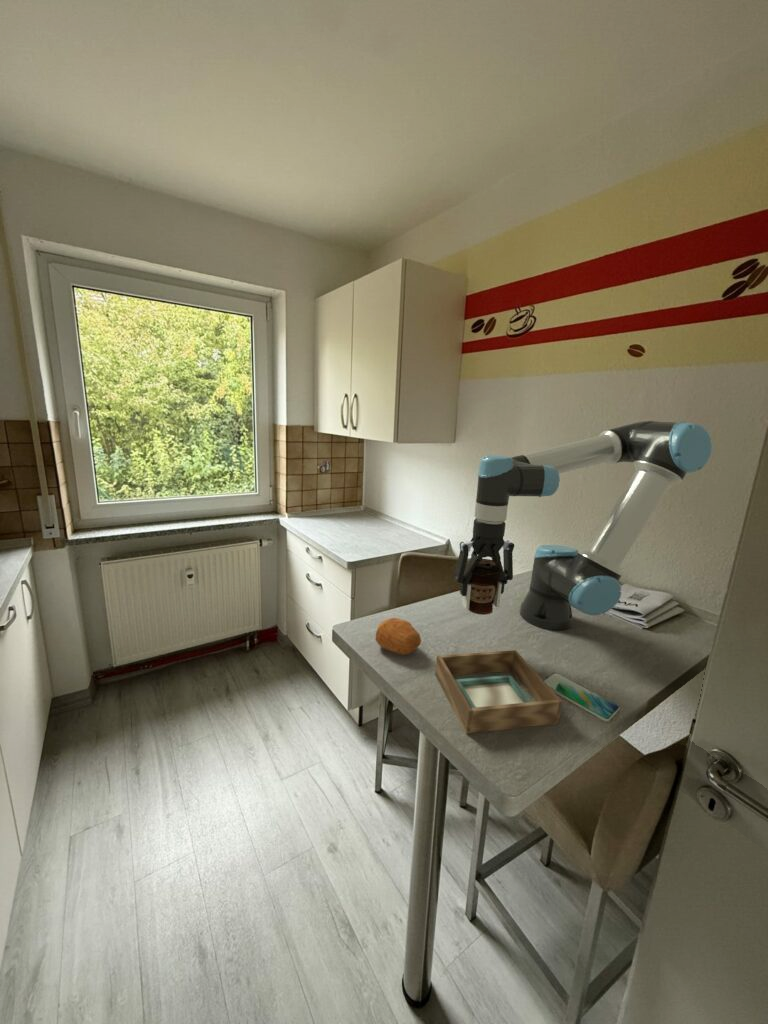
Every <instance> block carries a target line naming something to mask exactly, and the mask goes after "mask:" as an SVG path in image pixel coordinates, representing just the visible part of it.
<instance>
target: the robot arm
mask: <svg viewBox="0 0 768 1024" xmlns="http://www.w3.org/2000/svg"><path fill="white" fill-rule="evenodd" d="M711 438H712V437H711V435H710V433H709V432H708V430H707V429H706V428H705V427H704V426H703V425H701V424H697V423H692V422H687V421H686V422H685V421H679V422H678V421H677V422H676V421H674V422H673V421H654V420H647V421H646V420H644V421H638V422H634V423H630V424H625V425H621V426H619V427H614V428H611V429H607V430H604V431H602V432H600V434H599V435H596V436H593V437H590V438H585V439H581V440H577V441H573V442H569V443H565V444H561V445H557V446H552V447H549V448H545V449H540V450H537V451H536V450H535V451H533V452H529V453H524V454H520V455H516V456H511V457H510V456H505V455H490V454H489V455H484V456H482V457H481V458H480V463H479V468H478V473H477V478H478V479H477V490H476V499H475V508H474V509H475V510H474V518H475V519H473V527H472V537H471V540H470V541H469V542H464V541H460V542H459V555H458V558H457V563H456V566H455V567H456V568H455V570H454V575H453V578H454V580H455V581H456V582H457V583H459V584H460V587H459V593H460V595H461V596H462V599H461V601H462V602H461V606H463V608H464V610H468V609H469V603H470V593H471V584H469V581H470V579H471V577H472V571H473V570H474V567H476V566H475V565H478V564H479V562H480V561H481V560H482V559H485V558H491V560H492V561H493V562H494V563H495V564H499V568H501V574H500V576H499V579H498V585H497V591H496V594H495V596H494V602H493V606H494V607H495V608H499V607H500V603H501V595H502V594H504V592H505V585H507V584H508V581H512V580H513V579H514V569H513V568H514V567H513V564H514V563H513V560H514V559H513V551H514V549H515V544H514V542H512V541H510V540H504V537H505V533H506V531H505V530H506V524H507V523H506V522H505V521H506V520H507V517H508V507H509V506H508V505H509V499H510V497H538V498H542V497H551V496H553V495H554V494H555V493H556V492H557V491H558V489H559V486H560V474H563V473H567V472H572V471H575V470H578V469H583V468H586V467H591V466H595V465H600V464H603V463H606V464H608V465H614V464H617V463H632V464H633V467H634V470H635V472H634V473H633V474H632V476H631V478H630V479H629V481H628V482H627V485H626V486H625V487H624V489H623V491H622V492H621V494H620V496H619V497H618V498H617V500H616V502H615V504H614V505H613V507H612V509H611V510H610V511H609V513H608V515H607V517H606V518H605V520H604V521H603V524H602V525H601V527H600V528H599V529H598V531H597V533H596V534H595V536H594V538H593V539H592V541H591V542H590V544H589V546H588V547H587V549H585V550H581V551H579V550H578V549H576V548H573V547H569V546H566V545H557V544H543V545H540V546H538V547H537V548H536V549H535V554H534V556H533V558H534V560H533V565H532V571H531V578H530V583H529V588H528V591H527V593H526V595H525V598H524V599H523V601H522V602H521V603H520V607H519V615H520V617H521V618H522V619H524V620H525V621H526V622H528V623H529V624H531V625H534V626H536V627H539V628H542V629H547V630H551V631H562V630H567V629H570V627H571V626H572V624H573V611H572V608H573V609H575V610H578V611H580V612H581V613H583V614H585V615H587V616H598V615H600V614H606V613H607V612H609V611H611V610H612V609H613V608H615V606H616V605H617V604H618V602H619V601H620V599H621V596H622V592H621V591H622V585H621V584H620V582H619V580H620V579H621V578H622V575H623V573H622V570H621V564H622V563H623V562H624V560H625V558H626V556H627V555H628V554H629V553H630V550H631V549H632V547H633V546H634V544H635V543H636V541H637V539H638V538H639V536H640V535H641V534H642V532H643V530H644V528H645V527H646V525H647V523H648V522H649V520H650V519H651V518H652V515H653V514H654V513H655V511H656V509H657V508H658V506H659V505H660V503H661V501H662V499H664V497H665V495H666V493H667V492H668V491H669V490H670V489H669V488H670V487H671V486H673V485H677V484H680V483H681V482H682V481H683V479H684V478H685V476H687V474H691V473H695V472H698V471H700V470H701V469H703V468H704V467H705V466H706V465H707V463H708V462H709V460H710V459H711V458H710V457H711V455H712V451H713V450H712V449H713V444H712V439H711ZM471 548H472V549H473V550H472V552H471ZM501 549H503V551H502V553H503V554H502V555H503V557H502V558H503V564H502V560H501V555H500V551H501ZM470 552H471V556H470V559H469V553H470ZM468 559H469V560H468Z"/></svg>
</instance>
